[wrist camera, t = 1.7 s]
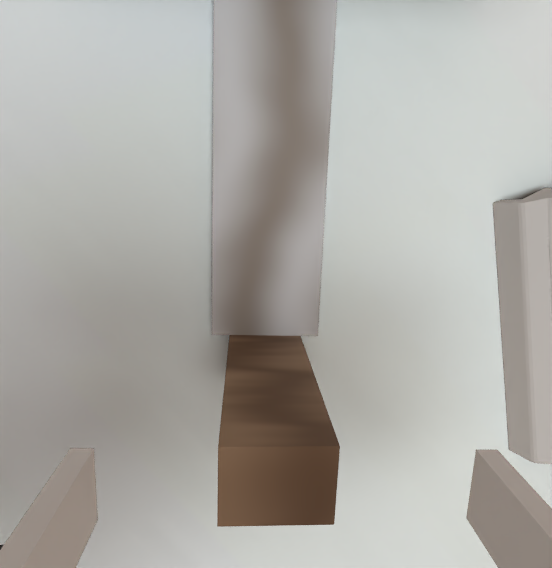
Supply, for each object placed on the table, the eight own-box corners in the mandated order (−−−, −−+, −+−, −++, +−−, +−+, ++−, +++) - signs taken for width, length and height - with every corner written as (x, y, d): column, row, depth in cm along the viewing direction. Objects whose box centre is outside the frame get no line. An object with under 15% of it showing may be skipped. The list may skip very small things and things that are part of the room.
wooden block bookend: (212, 378, 27) (187, 526, 16) (214, -7, 23) (182, -204, 11) (312, 379, 28) (362, 524, 16) (334, 1, 23) (424, -182, 12)
